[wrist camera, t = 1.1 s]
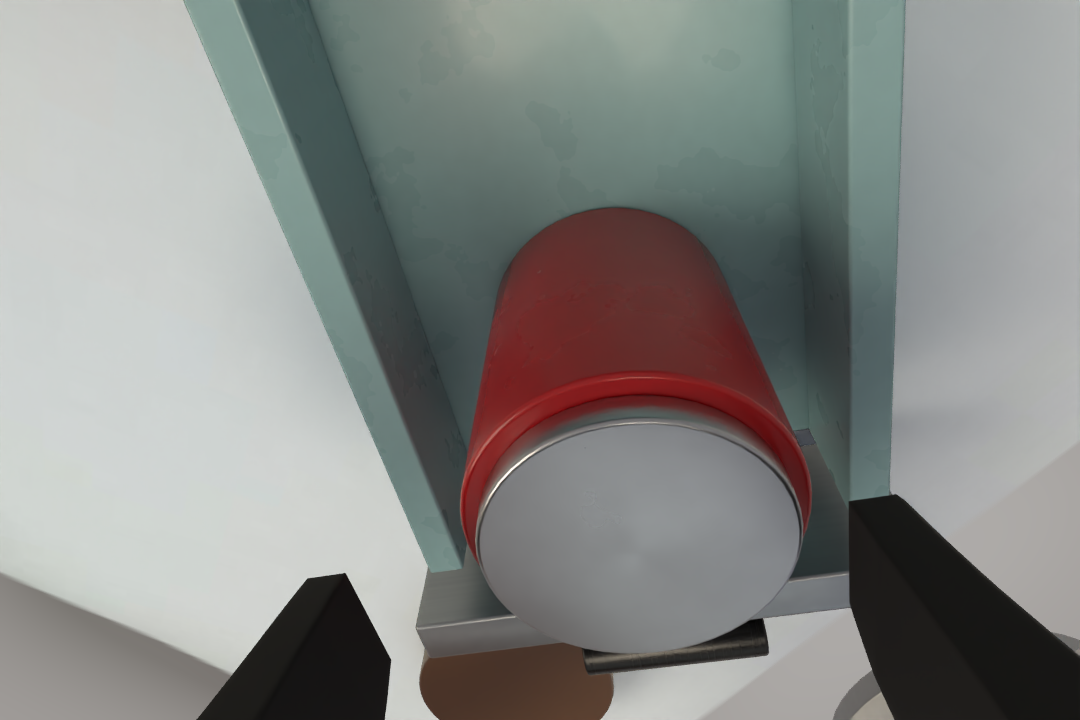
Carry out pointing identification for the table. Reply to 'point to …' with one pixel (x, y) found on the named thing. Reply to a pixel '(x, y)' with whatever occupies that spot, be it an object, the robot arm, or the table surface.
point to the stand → (515, 685)
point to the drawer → (570, 188)
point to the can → (629, 443)
